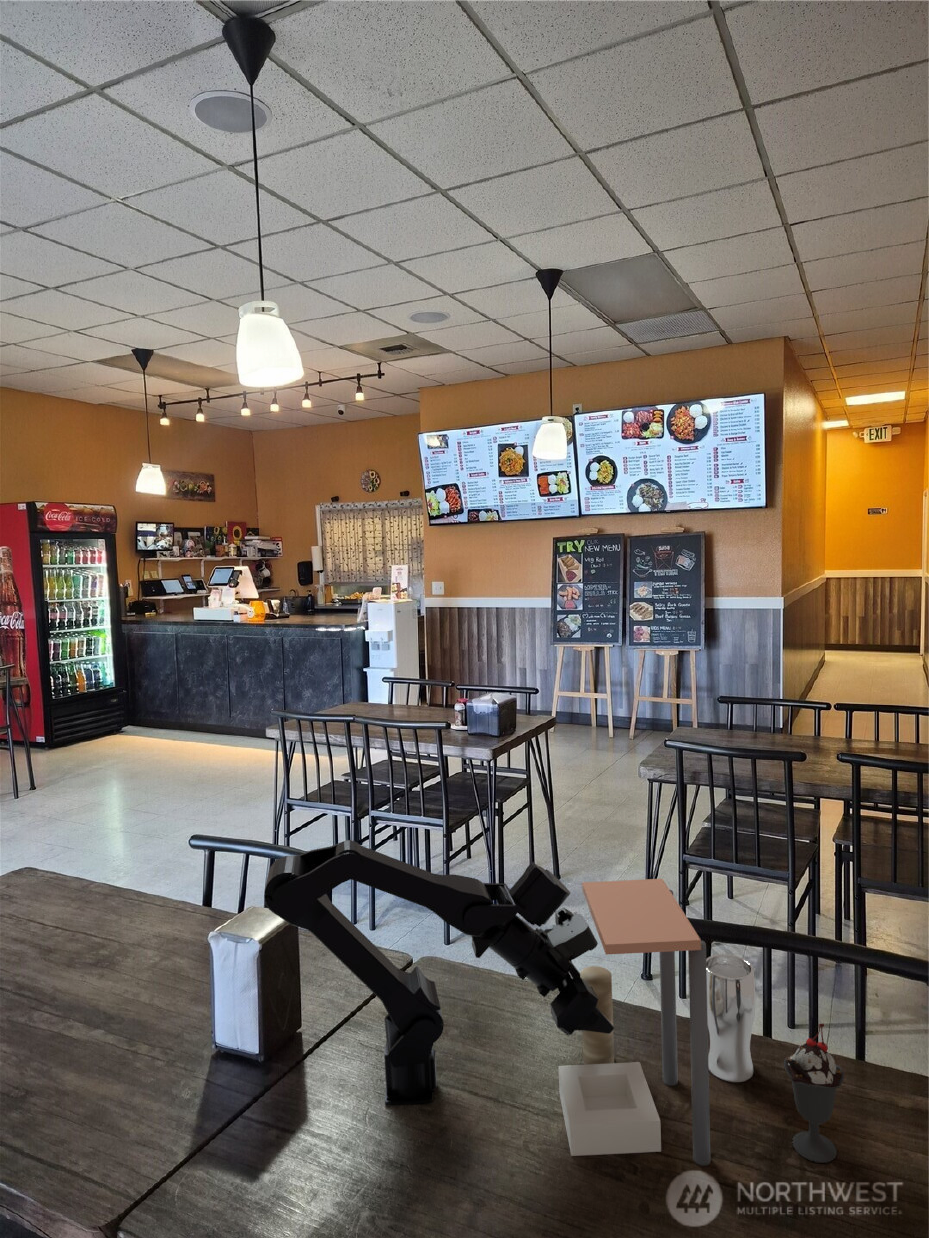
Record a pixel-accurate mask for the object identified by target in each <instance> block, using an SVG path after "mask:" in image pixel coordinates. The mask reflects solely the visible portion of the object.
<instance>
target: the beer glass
mask: <svg viewBox="0 0 929 1238" xmlns="http://www.w3.org/2000/svg"><path fill="white" fill-rule="evenodd" d="M706 968H707V1016H708V1035H709V1050H708V1064H709V1071H710V1072H711V1074H712V1075H713V1076H715V1077H717V1078H718V1079H720V1080H723V1081H726V1082H731V1083H741V1082H742V1083H743V1082H746V1081H748V1080H749V1079H751V1078H752V1077H753V1074H754V1066H753V1061H752V1056H751V1055H752V1054H751V1038H752V1032H753V1026H754V1022H755V1015H756V1007H757V1006H756V1005H757V1003H756V1000H757V999H756V997H757V996H756V984H755V975H754V974H755V972H754V967H753V965H752V963H751V962H750V961H748V960H747V959H744V958H743V957H741V956H737V955H733V954H726V953H725V954H724V953H720V954H719V953H718V954H713V955H710V956H708V957H706Z"/></svg>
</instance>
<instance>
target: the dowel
mask: <svg viewBox="0 0 929 1238" xmlns="http://www.w3.org/2000/svg"><path fill="white" fill-rule="evenodd" d="M580 978H582V979H583V980H584V981H586V982H587V983H588V985H589V986H590V987H592V988H593V990H594V992H595V994H596V995H597V998H598V1003H597V1005H596V1006H597V1007H598V1008H599V1010H600V1011H601V1012H602V1013H603V1014H604V1015H605V1017H606V1018H607V1019H608V1020H609V1021H610V1023H611V1024H612V1025H613V1026H614V1015H613V1014H614V1012H613V1009H614V1007H613V983H612V980H613V979H612V972H611V971H610V970H609V969H607V968H605V967H601V966H599V965H597V966H596V965H595V966H594V965H593V966H587V967H585V968H583V969H581V971H580ZM581 1032H582V1036H581V1037H582V1053H583V1054H582V1057H583V1059H582V1060H583V1065H588V1064H609V1063H615V1044H614V1043H615V1042H614V1030H613V1031H612V1032H611V1033H610V1034H607V1033H600V1032H592V1031H582V1030H581Z"/></svg>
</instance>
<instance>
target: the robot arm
mask: <svg viewBox="0 0 929 1238" xmlns="http://www.w3.org/2000/svg"><path fill="white" fill-rule="evenodd" d="M351 880H352V881H354V882H358V883H360V884H363V885H365V886H368V887H371V888H373V889H376V890H379V891H381V892H384V893H386V894H389V895H392V896H395V897H397V898H400V899H403V900H405V901H408V902H411V903H412V904H416V905H419V906H422V907H424V908H426V909H428V910H430V911H431V912H433V913H434V914H435V915H436V916H438V918H440V919H441V920H442V921H444V923H446V924H448V925H449V926H451V927H453V928H454V929H456V930H457V931H459V932H461V933H462V934H464V935H467V936H470V937H471V947H472V950H473V953H474V956H475V958H477V959H479V958H481V957H482V956H483V954H485V952H486V951H487V950H488V949H491V951H493V952H494V953H495V954H497V955H498V956H499V957H500V958H502V960H504V961H505V962H506V963H508V964H509V965H510V966H511V967H512V968H513V969H514V970H515V972H516V974H517V976H518V977H519V978H520V979H521V980H523V981H524V980H525V979H527V980H529V981H530V982H531V983H532V984H534V985H535V986H536V988H537V991H538V993H539V995H541V996H542V997H543V998H546V997H547V995H548V994H549V993H550V992H555V990H558V992H559V993H558V994H557V996H556V997H555V998H554V999H553V1000H552V1001H551V1003H549V1004H550V1014H551V1017H552V1018H553V1021H554V1023H555V1025H556V1027H557V1029H559V1030H560V1031H561V1032H563V1033H564V1034H565V1035H566V1036H570V1035H571V1036H572V1035H573V1033H574V1032H575V1031H581V1032H582V1031H592V1032H600V1033H607V1034H610V1033H611V1032H612V1031H613V1032H614V1029H615V1026H614V1024H613V1025H612V1024H611V1023H610V1021H609V1020H608V1019H607V1018H606V1017H605V1015H604V1014H603V1013H602V1012H601V1011H600V1010H599V1008H598V1007H597V1006H596V1005H597V1003H598V998H597V995H596V994H595V992H594V990H593V988H592V987H590V986H589V985H588V983H587V982H586V981H584V980H583V979H582V978H580V973H581V971H579V970H578V968H577V967H576V966H575V965H574V963H573V962H572V961H573V960H575V959H577V958H579V957H580V956H582V955H583V954H586V953H587V952H589V951H593V950H594V949H596V948H597V946H598V944H599V943H598V941H597V939H596V936H595V935H594V933H593V931H592V929H591V928H590V926H589V924H588V922H587V920H586V918H584V916H583V914H581V913H578V912H577V911H575V912H572V911H570V910H568V909H567V908H565V907H563V906H562V904H564V902H565V901H566V900H567V899H568V898H569V896H570V895H572V894H571V892H570V890H569V889H568V887H566V885H564V884H563V882H562V881H561V880H559V879H558V877H557V876H555V875H554V873H552V872H551V871H550V870H548V868H547V869H545V868H544V867H542V866H540V865H538V864H536V862H534V861H532V862H530V863H529V865H528V866H527V867H526V868H525V870H524V872H523V873H522V875H521V876H520V877H519V879H517V880H516V882H515V883H514V884H513V886H511V888H509V886H508V885H507V884H506V883H501V882H498V883H497V882H483V881H481V880H479V879H478V878H475V877H468V876H466V875H465V876H464V875H460V874H439V873H434V872H431V871H428V870H426V869H422V868H420V867H418V866H415V865H412V864H411V863H407V862H404V861H401V860H399V859H397V858H394V857H392V856H389V855H387V854H383V853H381V852H379V851H376V850H374V849H371V848H368V847H365V846H363V845H361V844H360V843H358V842H357V841H355V840H352V839H351V840H350V839H348V840H344V841H340V842H338V843H336V844H333V845H332V846H331V845H330V846H326V847H320V848H316V849H311V850H308V851H306V852H304V853H302V854H299V855H295V854H294V855H285V856H282V857H280V858H279V857H278V859H276V860H275V861H274V862H273V863H272V864H271V866H270V868H269V870H268V873H267V878H266V882H265V888H264V895H263V898H264V903H265V906H266V907H267V909H268V910H269V911H270V912H271V913H273V914H274V915H276V916H277V917H279V918H280V919H282V920H284V921H285V922H286V923H288V924H289V925H291V926H293V927H297V928H300V929H302V930H306V931H308V932H309V933H311V934H312V935H313V936H314V937H315V938H316V939H317V940H318V941H319V942H320V943H321V944H322V945H324V946H325V948H327V950H328V951H329V952H330V953H332V954H333V955H334V956H335V958H337V959H338V960H339V961H340V962H341V963H342V964H343V965H344V966H345V967H346V968H347V969H348V970H349V971H350V972H351V973H352V974H353V975H354V976H356V978H357V979H358V980H359V981H360V982H362V983H363V984H364V985H365V986H366V987H367V989H369V991H370V992H372V993H373V994H374V995H375V996H376V997H377V998H378V999H379V1000H380V1002H381V1003H382V1004H383V1006H384V1008H385V1010H386V1012H387V1014H386V1016H384V1018H383V1019H384V1031H385V1045H384V1046H385V1047H384V1055H383V1056H384V1057H383V1058H384V1072H385V1074H384V1075H385V1093H384V1104H385V1105H388V1106H389V1105H412V1104H413V1105H414V1104H428V1103H430V1104H431V1103H432V1102H433V1100H434V1099H433V1098H434V1090H436V1089H437V1080H438V1079H437V1076H438V1075H437V1058H436V1057H437V1054H436V1050H435V1048H433V1046H434V1043H436V1042H437V1041H438V1040H439V1038H440V1037H441V1036H442V1034H443V1031H444V1025H445V1023H444V1018H443V1014H442V1010H441V1008H442V1007H441V1003H440V998H439V995H438V992H437V987H436V986H437V985H436V982H435V981H432V980H430V979H429V978H428V977H426V976H425V974H424V973H423V972H422V970H421V969H420V967H418V966H415V967H414V968H413V970H412V971H411V972H408V971H404V970H401V969H400V968H399V967H398V966H396V965H395V963H393V962H392V961H391V960H390V959H389V958H388V957H387V956H386V955H385V954H384V953H383V952H382V951H381V949H379V948H378V947H377V946H376V945H375V944H374V943H373V941H371V940H370V939H369V938H368V937H367V936H366V935H365V934H364V933H363V932H362V931H361V930H360V929H359V928H358V927H357V926H356V925H355V924H353V922H352V921H351V920H349V918H348V917H347V916H346V915H344V913H342V911H341V910H340V909H339V908H337V906H335V905H334V903H333V902H332V901H331V900H330V898H329V896H328V895H327V894H328V893H329V892H331V891H332V890H333V889H335V888H337V887H338V886H339V885H341V884H343V883H347V882H348V881H351ZM495 900H496V902H497V904H496V903H495V904H494V902H493V901H495ZM561 906H562V907H561ZM560 907H561V908H560ZM518 914H519V916H521V917H519V916H518ZM553 915H554V917H555V918H554V919H555V920H554V922H555V923H554V924H553V925H552V928H546V929H544V930H543V929H542V928H541V927H542V925H546V924H547V922H548V921H549V920H550V918H551V917H552V916H553ZM523 919H524V920H523ZM527 922H528V923H529V924H530V925H532V926H535V925H536V926H537V927H536V928H535V929H534V928H533V927H532V926H530V925H529V924H528V923H527ZM538 927H539V928H540V929H539V928H538Z"/></svg>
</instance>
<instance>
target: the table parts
mask: <svg viewBox="0 0 929 1238" xmlns="http://www.w3.org/2000/svg"><path fill="white" fill-rule="evenodd" d="M581 883H582V884H581V885H582V886H581V888H582V894H583V896H584V900H585V902H586V905H587V907H588V910H589V912H590V915H591V918H592V922H593V923H594V926H595V929H596V932H597V934H598V936H599V937H598V938H599V940H600V943H601V946H602V948H603V950H604V953H605V955H606V956H607V955H608V956H609V955H623V954H627V955H628V954H641V953H642V954H644V953H659V980H660V986H659V987H660V988H659V989H660V1017H661V1018H660V1019H661V1020H660V1021H661V1023H660V1024H661V1025H660V1026H661V1027H660V1028H661V1059H662V1060H661V1061H662V1066H661V1067H662V1082H663V1083H664V1084H665V1085H667V1086H670V1087H671V1086H676V1085H677V1084H678V1082H679V1081H678V1079H679V1077H678V1075H679V1073H678V1039H677V1038H678V1033H677V998H676V997H677V994H676V993H677V991H676V989H677V988H676V954H675V952H684V951H685V952H687V951H688V987H689V988H688V991H689V998H688V999H689V1031H690V1033H689V1034H690V1035H689V1037H690V1043H689V1044H690V1076H691V1077H690V1080H691V1117H692V1118H691V1119H692V1120H691V1123H692V1124H691V1127H692V1160H693V1162H695V1164H696V1165H698V1166H703V1167H705V1166H708V1165H710V1164H711V1121H710V1120H711V1118H710V1114H711V1113H710V1079H709V1077H710V1076H709V1075H710V1074H709V1073H710V1072H709V1071H710V1070H709V1064H708V1056H709V1029H708V1016H707V968H706V959H707V943H706V942H705V941H704V940H701V937H700V936H699V935H698V933H697V931H696V930H695V928H694V927H693V925H692V923H691V922H690V920H689V919H688V917H687V916H686V914H685V912H684V910H683V909H682V908H681V906H680V904H679V903H678V901H677V900H676V898H675V896H674V891H673V890H672V889H669V887H668V885H667V883H666V882H665V881H664V879H663V878H649V879H629V880H627V879H626V880H608V881H588V882H587V881H586V882H585V881H582V882H581ZM558 1085H559V1086H558V1088H559V1089H558V1091H559V1098H560V1104H561V1108H562V1109H561V1110H562V1114H563V1119H564V1126H565V1131H566V1135H567V1139H568V1140H567V1141H568V1147H569V1150H570V1151H569V1152H570V1156H572V1157H577V1156H579V1157H580V1156H597V1155H615V1154H616V1155H619V1154H620V1155H621V1154H639V1153H656V1152H659V1153H660V1152H662V1140H661V1139H662V1135H661V1134H662V1133H661V1132H662V1131H661V1130H662V1129H661V1118H660V1115H659V1113H658V1110H657V1108H656V1104H655V1102H654V1099H653V1096H652V1094H651V1091H650V1088H649V1085H648V1083H647V1079H646V1077H645V1074H644V1071H643V1067H642V1065H641V1062H640V1061H634V1062H633V1061H632V1062H614V1063H609V1064H588V1065H585V1064H573V1065H558Z"/></svg>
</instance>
